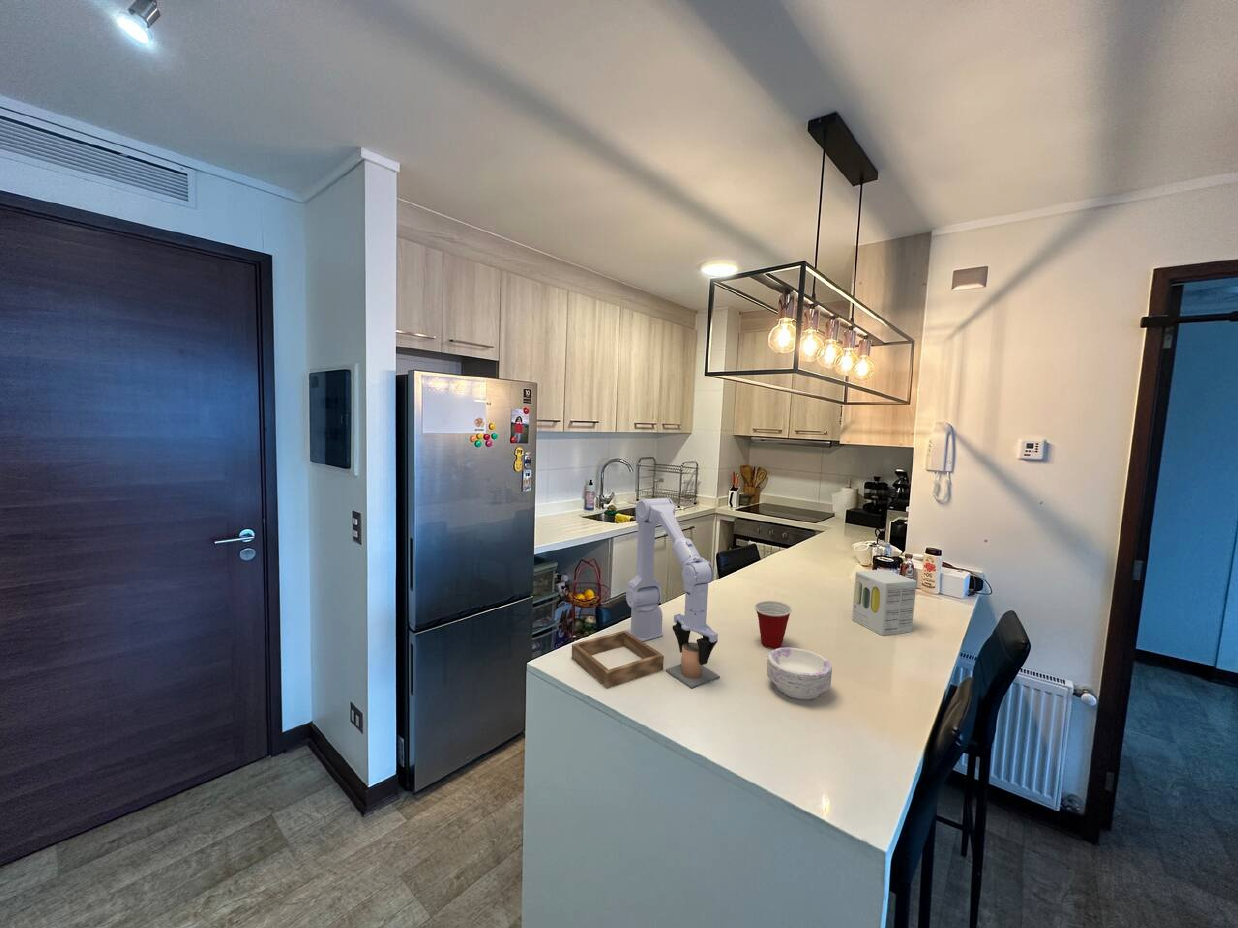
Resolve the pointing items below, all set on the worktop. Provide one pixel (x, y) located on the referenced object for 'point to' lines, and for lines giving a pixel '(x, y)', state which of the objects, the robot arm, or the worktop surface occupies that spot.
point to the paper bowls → (799, 672)
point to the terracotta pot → (690, 661)
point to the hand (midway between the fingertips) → (693, 657)
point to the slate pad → (691, 683)
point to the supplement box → (884, 601)
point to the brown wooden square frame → (621, 674)
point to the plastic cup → (772, 622)
